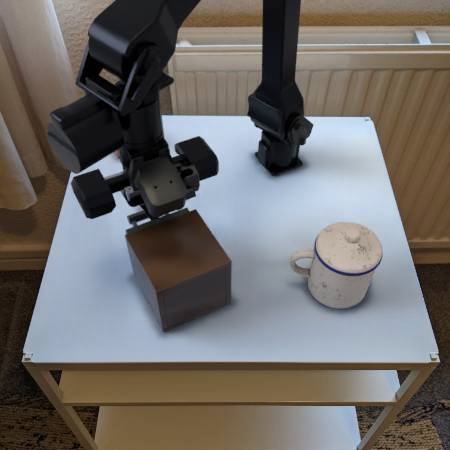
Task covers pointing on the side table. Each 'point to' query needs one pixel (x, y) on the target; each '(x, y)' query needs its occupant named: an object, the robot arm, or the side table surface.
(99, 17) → the robot arm
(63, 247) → the side table surface
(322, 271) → the teacup with lid
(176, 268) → the cabinet
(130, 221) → the drawer
